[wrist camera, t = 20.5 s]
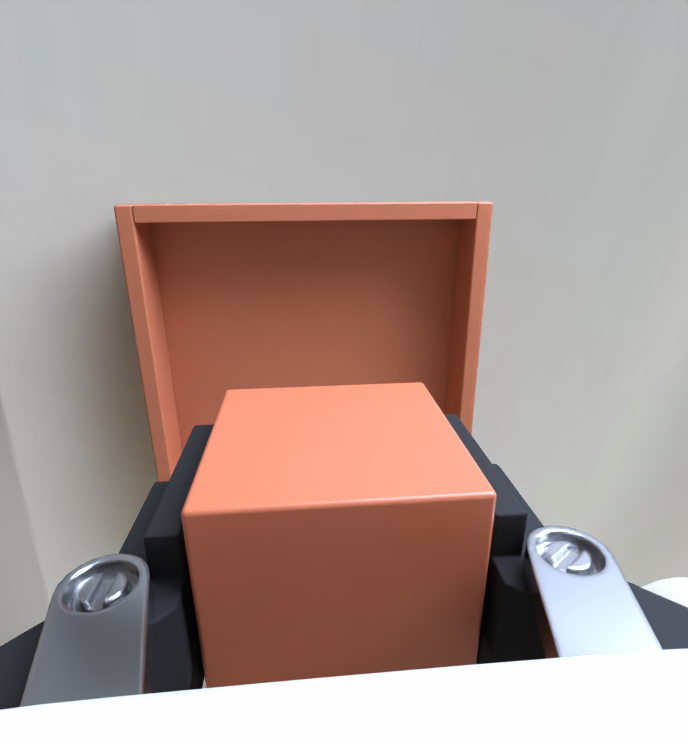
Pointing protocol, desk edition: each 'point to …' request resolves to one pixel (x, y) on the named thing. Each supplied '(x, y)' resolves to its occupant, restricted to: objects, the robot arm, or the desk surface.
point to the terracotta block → (336, 535)
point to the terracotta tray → (300, 302)
